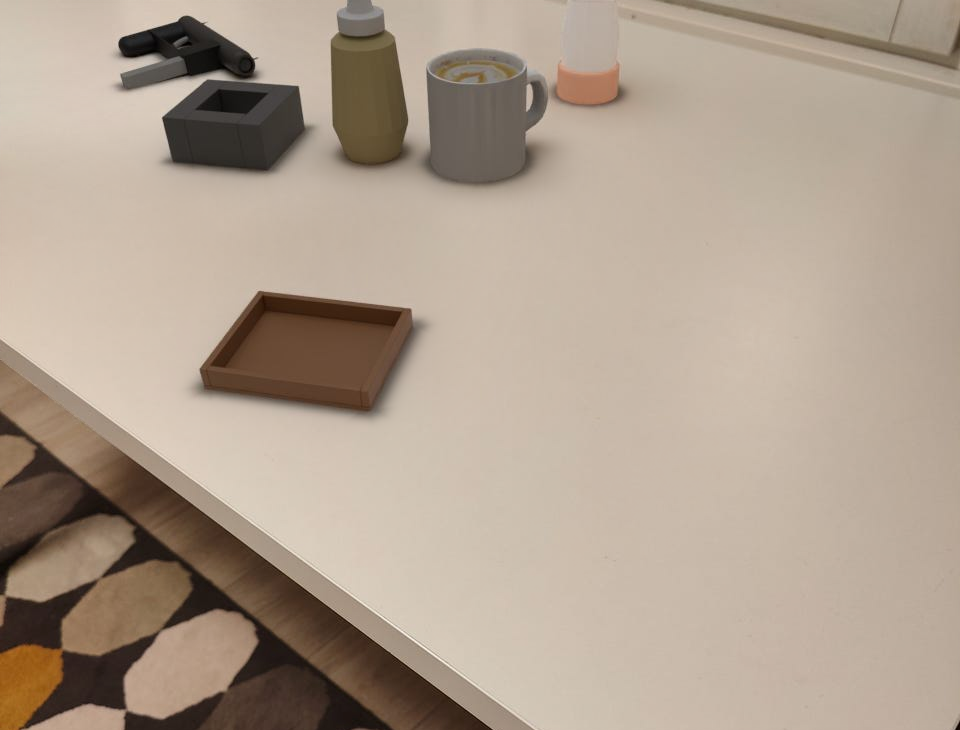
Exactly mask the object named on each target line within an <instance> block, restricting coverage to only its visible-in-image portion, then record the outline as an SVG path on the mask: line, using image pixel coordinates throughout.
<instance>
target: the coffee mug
mask: <svg viewBox="0 0 960 730" xmlns="http://www.w3.org/2000/svg"><path fill="white" fill-rule="evenodd" d="M425 70H426V71H425V72H426V73H425V74H426V91H427V109H428V110H427V111H428V131H429V147H430V148H429V149H430V164H431V168H432V170H434V172H435V173H437V174H438V175H440V176H442V177H444V178H446V179H449V180H451V181H452V180H453V181H456V182H463V183H489V182H490V183H491V182H495V181H496V182H497V181H501V180H504V179H507V178H511V177H513V176H514V175H516V174H518V173H519V172H521V171H522V169H524V167H525V165H526V150H527V149H526V146H527V143H526V142H527V132H528V131H529V130H530V129H532V128H534V127H535V126H536V125H537V124H538V123H539V122H540V121H541V120H542V119H543V117H544V115H545V112H546V111H547V107H548V102H549V87H548V84H547V80H546V78H545V76H544V75H543V74H542V73H541V72H540V71H538V70H536V69H533V68H528V66H527V62H526V60H525V59H524V58H522V56H520V55H518V54H515V53H513V52H510V51H507V50H502V49H497V48H496V49H495V48H482V47H481V48H479V47H476V48H475V47H473V48H461V49H455V50H450V51H447V52H444V53H441V54H438V55H436V56H434V57H432V58H431V59H430V60H429V61H428V62H427V64H426V68H425ZM528 85H529V86H531V89H532V90H531V91H532V101H531V104H530V107H529V108H528V110H527V91H528V90H527V88H528V87H527V86H528Z"/></svg>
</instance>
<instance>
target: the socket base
mask: <svg viewBox="0 0 960 730" xmlns="http://www.w3.org/2000/svg"><path fill="white" fill-rule="evenodd" d="M161 120H162V124H163V128H164V132H165V136H166V140H167V144H168V148H169V153H170V157H171V160H172V162H173V163H181V164H190V165H201V166H202V165H203V166H212V167H213V166H214V167H223V168H233V169H246V170H256V171H269V170H270V169H271V167H273V165H274V164H275V163H276V162H277V161H278V160H279V159H280V158H281V156H282V155H283V154H284V153H285V152H286V151H287V150H288V149H289V148H290V146H292V144H294V143H295V141H296V140H297V139H298V138H299V137H300V136H301V135H302V133H303V132H304V131H305V130H306V127H305V119H304V112H303V106H302V99H301V92H300V86H299V85H291V84H278V83H277V84H276V83H263V82H252V81H250V82H249V81H239V80H238V81H237V80H236V81H235V80H223V79H222V80H221V79H211V78H210V79H209V78H208V79H206V80H205V81H204V82H202V83H201V84H200V85H199V86H198V87H196V88H195V89H194V90H192V91H191V92H190V93H189V94H188V95H186V97H184V98H183V99H182V100H181V101H180V102H178V103H177V104H176V105H175V106H174V107H172V108H171V109H170V110H169V111H167V112H166V113H165V114H164V115H163V116H161Z"/></svg>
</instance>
